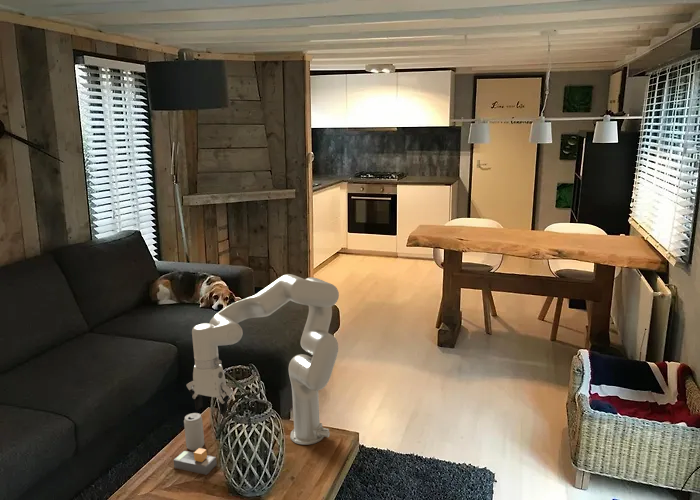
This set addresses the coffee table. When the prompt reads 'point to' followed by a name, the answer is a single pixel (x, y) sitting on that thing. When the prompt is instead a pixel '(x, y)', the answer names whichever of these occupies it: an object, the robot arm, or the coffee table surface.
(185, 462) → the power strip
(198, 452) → the orange cube
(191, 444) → the beverage can
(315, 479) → the coffee table surface
